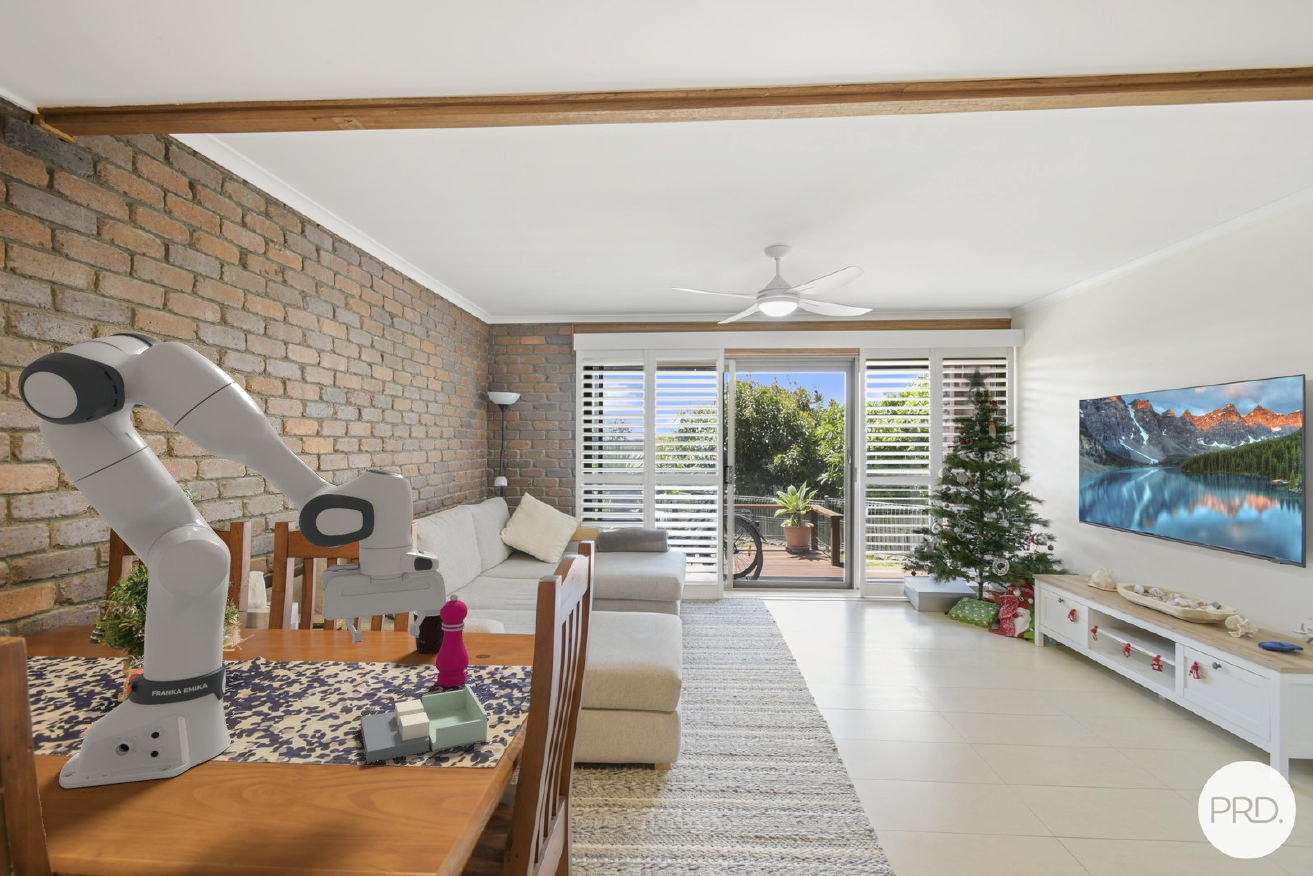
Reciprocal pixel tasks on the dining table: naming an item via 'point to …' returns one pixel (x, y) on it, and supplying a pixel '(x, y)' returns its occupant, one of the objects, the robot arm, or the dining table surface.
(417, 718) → the tile front
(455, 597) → the pepper mill
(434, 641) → the coffee mug
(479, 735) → the bin
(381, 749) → the slate plate
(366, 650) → the dining table surface
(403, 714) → the tile back
